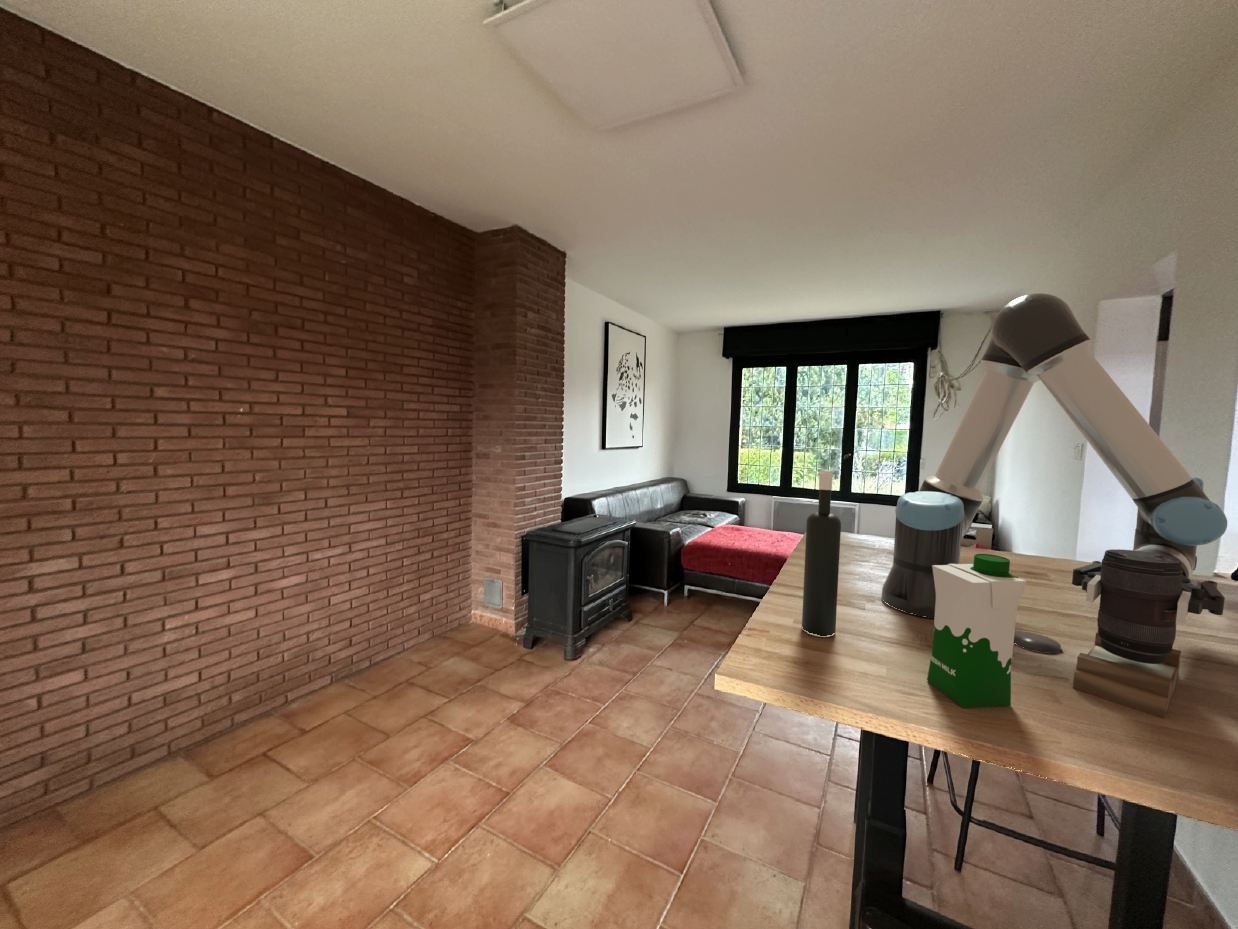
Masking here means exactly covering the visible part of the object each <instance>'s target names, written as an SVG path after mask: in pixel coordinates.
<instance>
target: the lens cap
mask: <svg viewBox="0 0 1238 929" xmlns="http://www.w3.org/2000/svg"><path fill="white" fill-rule="evenodd" d="M1014 643H1016V644H1017V645H1016V644H1015V645H1016V646H1018V645H1019V646H1018V647H1020V648H1023V647H1024V648H1023V649H1026V650H1030V651H1032V650H1033V652H1036V653H1037V652H1038V653H1042V654H1059V653H1060V652H1061V651H1060V650H1062V645H1061V644H1060V642H1058V641H1057V640H1056V639H1053V638H1050V637H1048V636H1045V635H1042V634H1038V633H1036V632H1031V631H1030V632H1029V631H1023V630H1015V633H1014ZM1014 643H1013V644H1014Z"/></svg>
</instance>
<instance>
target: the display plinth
mask: <svg viewBox="0 0 1238 929" xmlns="http://www.w3.org/2000/svg"><path fill="white" fill-rule="evenodd" d="M1181 654H1182V651H1181V650H1179V649H1176V648H1172V652H1171V653H1169V654H1167V656H1166V661H1165V662H1164V663H1162V664H1147V663H1141V662H1136V661H1132V660H1128V659H1125V658H1122V657H1119V656H1116V655H1114V654H1112V653H1110V652H1108V651H1106V650H1105V649H1103V648H1102V647H1101V637H1100V636H1099V635H1098V630H1097V631H1096V632H1095V638H1094V645H1093V646H1092V647H1091V649H1090V650H1089V652H1088V653H1084V652H1079V654H1078V655H1077V660H1076V668H1075V670H1074V673H1073V675H1074V676H1073V682H1072V688H1073V689H1077V690H1080V691H1083V692H1084V693H1085V692H1086V693H1088V694H1091V695H1094V696H1097V697H1100V698H1103V699H1105V700H1108V701H1109V700H1110V701H1112V702H1115V703H1118V704H1121V705H1124V706H1128V707H1130V708H1131V709H1135V710H1139V711H1142V712H1145V713H1148V714H1150V715H1154V716H1155V717H1156V716H1157V717H1160V718H1163V719H1165V717H1166V714H1167V711H1168V709H1169V705H1170V703H1171V700H1172V697H1173V694H1174V691H1175V689H1176V688H1175V687H1176V685H1177V681H1178V678H1179V672H1180V667H1181V666H1180V664H1181Z"/></svg>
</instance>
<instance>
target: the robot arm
mask: <svg viewBox="0 0 1238 929" xmlns="http://www.w3.org/2000/svg"><path fill="white" fill-rule="evenodd" d="M991 334H992V337H991V339H990V342H989V343H988V346H987V347H986V349H985V352H984V353H983V356H982V358H981V361H980V364H981V365H982V367H983V369H984V373H983V375H982V377H981V379H980V382H979V384H978V386H977V387H976V389H975V392H974V394H973V396H972V397H971V400H970V402H969V404H968V406H967V409H966V411H965V412H964V414H963V416H962V419H961V421H960V423H959V425H958V427H957V429H956V431H955V433H954V435H953V437H952V439H951V442H950V444H949V446H948V448H947V450H946V452H945V454H944V456H943V458H942V460H941V462H940V464H939V466H938V469H937V470H936V473H935V474H933V475H930V476H928V477H925V478H924V480H923V482H922V484H921V486H920V488H919V490H918V491H914V492H912V491H911V492H910V491H909V492H906V493H904V494H902V495H900V496H899V498H898V500H897V504H896V507H895V510H894V511H895V528H894V542H893V543H894V544H893V545H894V546H893V558H892V559H893V561H892V567H890V571H889V573H888V575H887V577H886V579H885V581H884V583H883V585H882V589H881V600H882V599H883V600H884V602H886V603H888V604H889V605H890V606H893V607H895V608H897V609H900V610H903V611H905V612H907V613H906V614H908V613H913V614H916V615H919V616H918V617H920V616H926V617H929V618H928V619H933V618H935V604H936V591H935V583H934V575H933V568H932V565H948V564H960V562H961V549H962V539H963V538H964V536H965V535H966V534H967V533H968V532H969V531H970V529H971V527H972V524H973V519H975V516H976V514H977V513H978V511H979V509H980V507H981V505H982V502H983V501H984V497H983V494H982V493H981V491H980V489H981V487H982V485H983V483H984V481H985V480H986V476H987V475H988V473H989V471H990V469H991V467H992V465H993V463H994V462H995V459H996V457H997V456H998V455H999V452H1000V451H1001V447H1002V446H1003V445H1004V442H1005V441H1006V438H1007V437H1008V434H1009V432H1010V430H1011V428H1012V426H1013V424H1014V423H1015V421H1016V419H1017V417H1018V415H1019V414H1020V411H1021V409H1022V407H1023V406H1024V404H1025V401H1026V399H1027V398H1028V396H1029V394H1030V392H1031V390H1032V387H1033V386H1034V385H1035V383H1037V382H1038V381H1041V382H1042V384H1043V385H1044V386H1045V388H1046V389H1047V391H1049V393H1050V395H1052V397H1053V398H1054V399H1055V400H1056V402H1057V403H1058V405H1059V406H1060V407H1061V408H1062V410H1063V411H1064V412H1065V413H1066V415H1067V416H1068V418H1069V419H1070V420H1071V422H1072V423H1073V424H1074V426H1075V427H1076V428H1077V429H1078V431H1079V432H1080V433H1081V434H1082V436H1083V437H1084V439H1085V440H1086V441H1087V443H1088V444H1089V445H1090V446H1091V448H1092V449H1093V450H1094V451H1095V453H1096V454H1097V456H1098V457H1099V458H1100V459H1101V461H1102V462H1103V464H1105V466H1106V467H1107V469H1108V470H1109V472H1111V473H1112V475H1113V476H1114V477H1115V479H1116V480H1117V481H1118V483H1119V484H1120V485H1121V486H1122V488H1123V489H1124V491H1125V492H1126V494H1128V496H1129V497H1130V498H1131V500H1132V501H1133V503H1134V504H1135V506H1136V507H1137V511H1136V512H1137V513H1136V528H1135V529H1134V530H1135V531H1134V539H1133V540H1134V541H1133V548H1132V550H1134V551H1144V552H1151V553H1157V554H1162V555H1166V556H1171V557H1174V558H1177V559H1179V560H1181V566H1182V570H1183V578H1182V588H1181V593H1180V598H1179V599H1178V608H1177V616H1176V622H1180V623H1185V622H1186V619H1187V617H1188V616H1189V615H1188V614H1189V613H1190V614H1195V615H1201V614H1202V612H1203V611H1204V610H1207V611H1208V612H1209V614H1210V613H1211V614H1212V615H1214V616H1215V615H1216V616H1223V615H1224V607H1225V600H1226V599H1225V598H1226V597H1225V596H1224V595H1223V594H1222V593H1221V591H1220V590H1218V582H1217V581H1214V580H1204V581H1202V580H1201V581H1200V580H1198V581H1197V583H1196V582H1193V581H1191V578H1190V577H1191V575H1192V574H1193V572H1194V571H1195V570H1196V568H1197V562H1198V556H1197V549H1198V548H1197V547H1198V546H1204V545H1208V544H1211V543H1213V542H1215V541H1217V540H1219V539H1220V538H1221V537H1222V536H1224V534H1225V533H1226V531H1227V528H1228V519H1227V516H1226V514H1225V513H1224V511H1223V510H1222V508H1221V507H1220V506H1219V505H1218V504H1216V503H1215V502H1213V501H1211V500H1210V498H1209V497H1208V495H1206V493H1205V492H1204V481H1203V479H1201V478H1200V477H1198V476H1192V475H1191V474H1190V473H1189V472H1188V471H1187V470H1186V469H1185V467H1184V466H1183V464H1182V463H1181V462H1180V461H1179V460H1178V459H1177V457H1176V456H1175V455H1174V454H1173V453H1172V451H1171V450H1170V449H1169V448H1168V446H1167V445H1166V444H1165V443H1164V441H1163V440H1162V439H1161V438H1160V436H1159V435H1158V434H1157V432H1155V430H1154V429H1153V428H1152V426H1151V425H1150V424H1149V423H1148V421H1147V420H1146V419H1145V417H1144V416H1143V415H1142V414H1141V412H1140V411H1138V409H1137V408H1136V407H1135V405H1134V404H1133V403H1132V401H1131V400H1130V399H1129V398H1128V396H1127V395H1126V394H1125V393H1124V392H1123V391H1122V389H1121V388H1120V386H1118V384H1117V383H1116V382H1115V381H1114V379H1113V378H1112V377H1111V376H1110V375H1109V373H1108V372H1107V371H1106V370H1105V368H1104V367H1103V366H1102V365H1101V363H1100V362H1099V360H1098V359H1096V357H1095V356H1094V355H1093V354H1092V352H1091V351H1090V347H1091V344H1092V339H1091V338H1090V337H1089V336H1088V335H1087V334H1086V332H1085V330H1084V329H1083V328H1082V327H1081V324H1080V323H1079V322H1078V320H1077V318H1076V317H1075V315H1074V313H1073V310H1072V309H1071V308H1070V306H1069V304H1068V303H1066V302H1065V301H1064V300H1063V299H1062V298H1060V297H1058V296H1056V295H1053V294H1051V293H1049V294H1048V293H1043V292H1041V293H1040V292H1039V293H1037V292H1036V293H1031V294H1030V293H1029V294H1025V295H1022V296H1019V297H1017V298H1015V299H1013V300H1012V301H1009V302H1008V303H1007V304H1006V305H1004V306H1003V307H1002V309H1000V311H998V313H997V315H996V316H995V318H994V319H993V322H992V328H991ZM1101 566H1102V561H1100V560H1093V561H1092V563H1090V564H1087V565H1084V566H1080V567H1077V568H1073V569H1072V579H1071V585H1073V586H1076V587H1081V590H1082V591H1085V593H1086V596H1085V602H1090V603H1094V602H1095V601H1096V600H1097V599H1098V598H1099V597H1100V596H1101V584H1100V583H1101V579H1100V577H1101ZM883 600H882V601H883ZM884 602H883V603H884ZM886 603H885V604H886ZM889 605H888V606H889ZM890 606H889V607H890ZM897 609H896V610H897ZM905 612H904V613H905ZM916 615H915V616H916ZM926 617H925V618H926Z"/></svg>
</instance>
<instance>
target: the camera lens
mask: <svg viewBox="0 0 1238 929" xmlns="http://www.w3.org/2000/svg"><path fill="white" fill-rule="evenodd" d="M1101 562H1102V566H1101V577H1100V579H1101V583H1100V584H1101V594H1100V595H1099V597H1100V598H1099V607H1098V608H1099V609H1098V611H1097V631H1098V635H1099V636H1100V637H1101V647H1102V648H1103V649H1105V650H1106V651H1108V652H1110V653H1112V654H1114V655H1116V656H1119V657H1122V658H1125V659H1128V660H1132V661H1136V662H1141V663H1147V664H1162V663H1164V662H1165V661H1166V656H1167V654H1169V653H1171V652H1172V649H1173V646H1174V643H1175V641H1176V634H1177V621H1176V616H1177V608H1178V599H1179V598H1180V593H1181V588H1182V578H1183V570H1182V566H1181V560H1179V559H1177V558H1174V557H1171V556H1166V555H1162V554H1157V553H1151V552H1144V551H1134V550H1133V549H1117V548H1116V549H1106V550H1105V551H1104V554H1103V558H1102V559H1101Z"/></svg>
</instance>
